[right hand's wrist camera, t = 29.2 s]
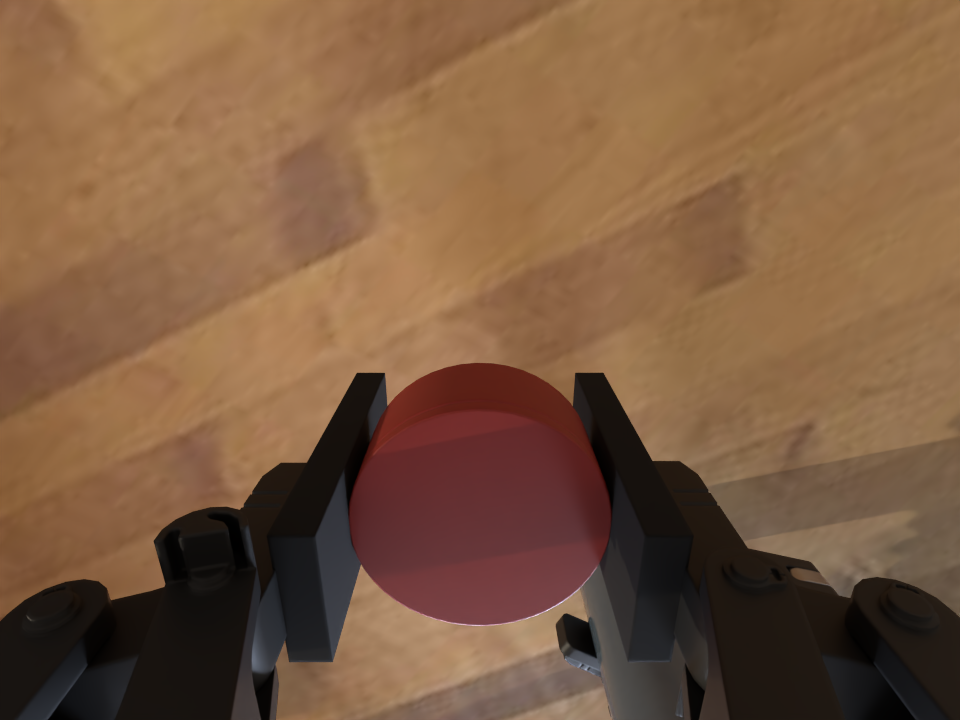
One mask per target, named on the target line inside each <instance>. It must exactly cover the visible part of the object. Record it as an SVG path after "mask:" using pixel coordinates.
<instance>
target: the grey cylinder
mask: <svg viewBox="0 0 960 720" xmlns="http://www.w3.org/2000/svg"><path fill="white" fill-rule="evenodd" d="M580 590H581V594H582V598H583V602H584V606H585V611H586V615H587V619H588V623H589V627H590V631H591V635H592V639H593V644H594V648H595V652H596V656H597V660H598V664H599V668H600V672H601V677H602V681H603V685H604V689H605V693H606V697H607V701H608V706H609V710H610V714H611V718H612V720H684V709H683V714H682V717H680V716H676V715H675V712H676V706H677V700H678V695H679V690H680V685H681V679H682V674H683V669H684V664H685V660H684V658H683V655H682V653H681V650H680V648H679V645H678V643H677V640H676V638H675V643H674V648H673V654H672V659H671V662H628V661H627V658H626V654H625V651H624V648H623V644H622V641H621V637H620V634H619V630H618V627H617V623H616V620H615V616H614V613H613V609H612V606H611V603H610V599H609V596H608V592H607V589H606V585H605V582H604V578H603V575H602V571H601V568H600V564H599V565H598V567H597V568H596V569H595V571H594V572H593V574H592V575H591V577H590V578H589V579H588V580H587V581H586V582H585V583H584V584H583V586H582V587H581V588H580Z"/></svg>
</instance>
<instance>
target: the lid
mask: <svg viewBox="0 0 960 720" xmlns="http://www.w3.org/2000/svg"><path fill="white" fill-rule="evenodd" d="M348 515H349V525H350V534H351V541H352V545H353V547H354V550H355V552H356V555H357V557H358V559H359V561H360V563H361V564H362V566H363V568H364V570H365V571H366V572H367V573H368V575H369V576H370V577H371V579H372V580H373V581H374V582H375V583H376V584H377V585H378V586H379V587H380V588H381V589H382V590H383V591H384V592H385V593H386V594H388V595H389V596H390V597H392V598H393V599H394V600H396V601H397V602H399V603H400V604H402V605H404V606H405V607H407V608H409V609H411V610H413V611H415V612H417V613H420V614H422V615H424V616H427V617H430V618H433V619H436V620H440V621H445V622H449V623H454V624H462V625H478V626H486V625H500V624H505V623H511V622H516V621H520V620H523V619H527V618H530V617H533V616H536V615H538V614H541V613H543V612H545V611H547V610H549V609H551V608H553V607H555V606H557V605H558V604H560V603H561V602H563V601H564V600H566V599H567V598H569V597H570V596H571V595H573V594H574V593H575V592H576V591H577V590H578V589H579V588H581V587H582V586H583V584H584V583H585V582H586V581H587V580H588V579H589V578H590V577H591V575H592V574H593V572H594V571H595V569H596V568H597V567H598V565H599V563H600V561H601V559H602V557H603V555H604V553H605V551H606V548H607V545H608V541H609V537H610V529H611V519H612V506H611V501H610V495H609V492H608V489H607V486H606V483H605V480H604V477H603V475H602V472H601V469H600V467H599V464H598V461H597V459H596V456H595V454H594V451H593V448H592V446H591V443H590V440H589V438H588V435H587V432H586V430H585V427H584V425H583V423H582V421H581V419H580V417H579V415H578V413H577V412H576V410H575V409H574V408H573V406H572V405H571V404H570V402H569V401H568V400H567V399H566V398H565V397H564V396H563V395H562V394H561V393H560V392H559V391H558V390H556V389H555V388H554V387H553V386H551V385H550V384H549V383H547V382H545V381H544V380H542V379H540V378H539V377H537V376H535V375H532V374H530V373H528V372H525V371H523V370H520V369H517V368H513V367H510V366H505V365H499V364H492V363H471V364H460V365H456V366H451V367H446V368H443V369H440V370H438V371H435V372H432V373H430V374H428V375H426V376H424V377H422V378H420V379H418V380H416V381H415V382H413V383H412V384H410V385H409V386H408V387H406V388H405V389H404V390H403V391H402V392H400V393H399V394H398V395H397V396H396V397H395V398H394V399H393V400H392V402H391V403H390V404H389V405H388V406H387V408H386V409H385V411H384V412H383V414H382V416H381V417H380V419H379V421H378V423H377V426H376V428H375V430H374V433H373V436H372V438H371V441H370V443H369V446H368V449H367V451H366V454H365V457H364V459H363V462H362V464H361V467H360V470H359V472H358V475H357V478H356V480H355V483H354V486H353V489H352V493H351V496H350V500H349V510H348Z"/></svg>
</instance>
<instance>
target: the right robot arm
mask: <svg viewBox="0 0 960 720" xmlns="http://www.w3.org/2000/svg"><path fill="white" fill-rule="evenodd" d="M386 408H387V395H386V381H385V373H357V374H356V376H355V377H354V379H353V381H352V383H351V385H350V386H349V388H348V390H347V392H346V394H345V395H344V397H343V399H342V401H341V403H340V404H339V406H338V408H337V410H336V412H335V413H334V415H333V417H332V419H331V421H330V422H329V424H328V426H327V428H326V429H325V431H324V433H323V435H322V437H321V438H320V440H319V442H318V444H317V446H316V447H315V449H314V451H313V453H312V455H311V456H310V458H309V460H308V462H307V463H280V464H279V465H277V466H276V467H274V468H273V469H272V470H270V471H269V472H268V473H266V474H265V475H263V476H262V478H261V479H260V481H259V482H258V484H257V485H256V487H255V488H254V490H253V491H252V495H250V496H249V497H248V499H247V500H246V502H245V503H244V507H243V508H241V509H240V510H238V509H234V508H230V507H210V508H206V509H202V510H198V511H194V512H191V513H189V514H187V515H185V516H182V517H180V518H178V519H176V520H175V521H173V522H172V523H170V524H169V525H168V526H166V527H165V528H164V529H162V531H161V532H160V533H159V535H158V536H157V537H156V539H155V540H154V544H155V548H156V551H157V555H158V558H159V562H160V566H161V569H162V573H163V576H164V580H165V587H163V588H160V589H156V590H153V591H149V592H145V593H141V594H136V595H132V596H128V597H124V598H119V599H115V600H110V597H109V594H108V591H107V588H106V587H105V586H103V585H102V584H101V583H100V582H99V581H92V580H86V579H83V580H76V581H69V582H64V583H61V584H58V585H55V586H53V587H50V588H47V589H44V590H43V591H41V592H39V593H37V594H35V595H33V596H32V597H30V598H28V599H26V600H24V601H23V602H22V603H21V604H19V605H18V606H17V607H16V608H15V609H13V610H12V611H11V612H10V613H8V614H7V615H6V616H5V617H4V618H3V619H2V620H1V621H0V720H276V710H277V699H278V688H279V681H278V675H277V669H276V661H277V659H278V656H279V654H280V651H281V649H282V646H283V644H284V641H286V647H287V652H288V658H289V662H333V659H334V656H335V652H336V649H337V645H338V642H339V638H340V635H341V631H342V628H343V624H344V621H345V617H346V614H347V611H348V607H349V604H350V600H351V597H352V593H353V590H354V586H355V583H356V579H357V576H358V572H359V569H360V566H361V563H360V561H359V559H358V557H357V555H356V552H355V550H354V547H353V545H352V541H351V534H350V525H349V515H348V510H349V500H350V496H351V493H352V489H353V486H354V483H355V480H356V478H357V475H358V472H359V470H360V467H361V464H362V462H363V459H364V457H365V454H366V451H367V449H368V446H369V443H370V441H371V438H372V436H373V433H374V430H375V428H376V426H377V423H378V421H379V419H380V417H381V416H382V414H383V412H384V411H385V409H386ZM573 408H574V409H575V410H576V412H577V413H578V415H579V417H580V419H581V421H582V423H583V425H584V427H585V430H586V432H587V435H588V438H589V440H590V443H591V446H592V448H593V451H594V454H595V456H596V459H597V461H598V464H599V467H600V469H601V472H602V475H603V477H604V480H605V483H606V486H607V489H608V492H609V495H610V501H611V506H612V519H611V529H610V537H609V541H608V545H607V548H606V551H605V553H604V555H603V557H602V559H601V561H600V563H599V564H600V568H601V571H602V575H603V578H604V582H605V585H606V589H607V592H608V596H609V599H610V603H611V606H612V609H613V613H614V616H615V620H616V623H617V627H618V630H619V634H620V637H621V641H622V644H623V648H624V651H625V654H626V658H627V661H628V662H671V659H672V654H673V648H674V643H675V638H676V640H677V643H678V645H679V648H680V650H681V653H682V655H683V658H684V660H685V664H684V669H683V674H682V679H681V685H680V690H679V695H678V700H677V706H676V712H675V715H676V716H680V717H682V714H683V709H684V720H960V618H959V617H958V616H957V615H956V614H955V613H954V612H953V611H952V610H951V609H950V608H948V607H947V606H946V605H945V604H943V603H942V602H941V601H940V600H938V599H937V598H936V597H934V596H932V595H930V594H928V593H926V592H925V591H923V590H921V589H919V588H917V587H915V586H912V585H909V584H906V583H903V582H900V581H898V580H893V579H886V578H879V577H875V578H868V579H862V580H861V581H860V582H859V583H858V584H856V585H855V586H854V589H853V592H852V595H851V598H846V597H842V596H838V595H833V594H829V593H825V592H820V591H816V590H812V589H808V588H805V587H801V586H798V585H795V583H794V582H793V580H792V579H791V577H790V575H789V574H788V572H787V571H786V570H785V569H784V568H782V567H781V566H780V565H779V564H778V563H776V562H775V561H774V560H772V559H770V558H768V557H766V556H764V555H762V554H760V553H759V552H756V551H752V550H749V549H748V548H747V546H746V545H745V543H744V542H743V540H742V539H741V537H740V536H739V535H738V533H737V532H736V530H735V529H734V527H733V526H732V524H731V523H730V521H729V520H728V518H727V517H726V515H725V514H724V512H723V511H722V509H721V508H720V506H717V502H716V500H715V499H714V497H713V496H712V495H711V493H708V489H707V487H706V486H705V484H704V483H703V481H702V480H701V478H700V477H699V475H698V474H697V473H695V472H694V471H693V470H691V469H690V468H688V467H687V466H686V465H684V464H683V463H681V462H680V461H652V459H651V458H650V456H649V454H648V452H647V450H646V449H645V447H644V445H643V443H642V441H641V440H640V438H639V436H638V434H637V432H636V431H635V429H634V427H633V425H632V424H631V422H630V420H629V418H628V416H627V415H626V413H625V411H624V409H623V407H622V406H621V404H620V402H619V400H618V398H617V397H616V395H615V393H614V391H613V389H612V388H611V386H610V384H609V382H608V380H607V379H606V377H605V375H604V373H575V385H574V400H573Z"/></svg>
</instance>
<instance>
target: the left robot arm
mask: <svg viewBox="0 0 960 720" xmlns="http://www.w3.org/2000/svg"><path fill="white" fill-rule="evenodd" d="M749 550H752V549H749ZM752 551H756V552H759V553H760V554H762V555H764V556H766V557H768V558H770V559H772V560H774V561H775V562H776V563H778V564H779V565H780V566H781V567H782V568H784V569H785V570H786V571H787V572H788V574H789V575H790V577H791V579H792V580H793V582H794V583H795V585H798V586H801V587H805V588H808V589H812V590H816V591H820V592H825V593H829V594H833V595H838V594H837V593H836V592H835V590H834V589H833V588H832V587H831V586H830V584H829V583H828V582H827V581H826V579H825V578H824V577H823V576H822V575H821V573H820V572H819V571H818V570H817V569H816V567H815V566H814V565H813V564H812V563H811V562H809V561H804V560H800V559H795V558H790V557H786V556H781V555H776V554H771V553H767V552H762V551H757V550H752ZM838 596H839V595H838ZM556 630H557V636H558V642H559V647H560V650H561V652H562V653H563V655H564V659H565V660H566V661H567V662H568V663H569V664H571V665H573V666H575V667H578V668H579V667H580V669H583V670H586V671H587V672H590V673H592V674H595V675H597V676H599V677H601V672H600V668H599V664H598V660H597V656H596V652H595V648H594V644H593V639H592V635H591V631H590V627H589V623H588V622H585V621H583V620H581V619H579V618H576V617H574V616H572V615H569V614H564V615H563V616H562V617H561V618H560V620H559V621H558V622H557V623H556ZM601 679H602V677H601ZM602 683H603V681H602ZM608 708H609V706H608ZM609 712H610V710H609ZM610 716H611V714H610Z"/></svg>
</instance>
